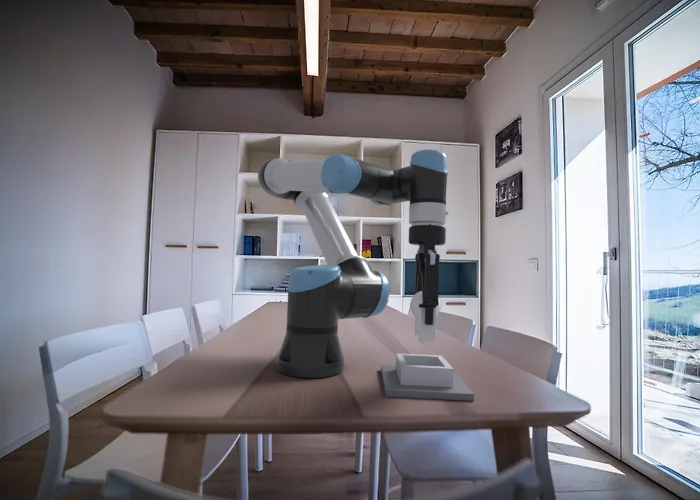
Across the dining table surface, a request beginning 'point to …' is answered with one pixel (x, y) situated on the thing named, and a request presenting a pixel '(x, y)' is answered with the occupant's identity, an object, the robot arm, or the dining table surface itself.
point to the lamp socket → (423, 378)
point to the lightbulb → (417, 311)
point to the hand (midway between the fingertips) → (424, 337)
